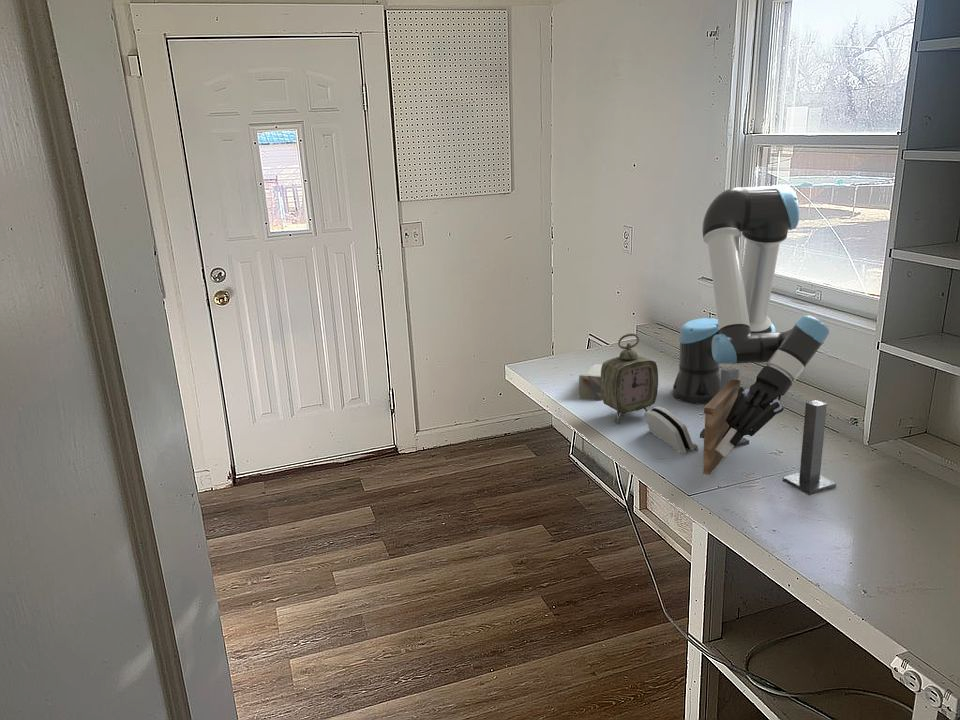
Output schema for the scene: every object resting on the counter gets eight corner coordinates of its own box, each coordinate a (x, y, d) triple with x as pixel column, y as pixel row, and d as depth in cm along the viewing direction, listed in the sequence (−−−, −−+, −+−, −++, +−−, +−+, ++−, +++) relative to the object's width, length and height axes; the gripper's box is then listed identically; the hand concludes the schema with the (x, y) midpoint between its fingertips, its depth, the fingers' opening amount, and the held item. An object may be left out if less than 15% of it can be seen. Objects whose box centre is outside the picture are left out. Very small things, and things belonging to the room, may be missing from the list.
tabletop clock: (615, 427, 209) (615, 341, 201) (597, 417, 216) (597, 334, 209) (657, 416, 214) (659, 333, 207) (638, 407, 222) (639, 326, 215)
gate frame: (727, 433, 201) (731, 362, 195) (836, 487, 170) (844, 405, 164) (703, 439, 198) (706, 368, 192) (809, 495, 167) (817, 412, 161)
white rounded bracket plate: (700, 451, 191) (689, 419, 188) (684, 459, 191) (674, 428, 187) (665, 427, 207) (655, 397, 203) (650, 435, 206) (640, 406, 202)
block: (593, 379, 248) (593, 357, 246) (617, 381, 245) (617, 358, 243) (578, 399, 231) (578, 375, 229) (604, 401, 228) (604, 377, 226)
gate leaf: (736, 442, 192) (740, 380, 187) (711, 475, 175) (714, 409, 170) (724, 439, 193) (727, 378, 188) (697, 473, 177) (700, 406, 171)
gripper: (808, 390, 173) (748, 471, 172) (766, 375, 184) (710, 451, 183) (792, 372, 169) (731, 455, 168) (751, 358, 181) (693, 435, 180)
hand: (720, 453), depth 176 cm, fingers closed
